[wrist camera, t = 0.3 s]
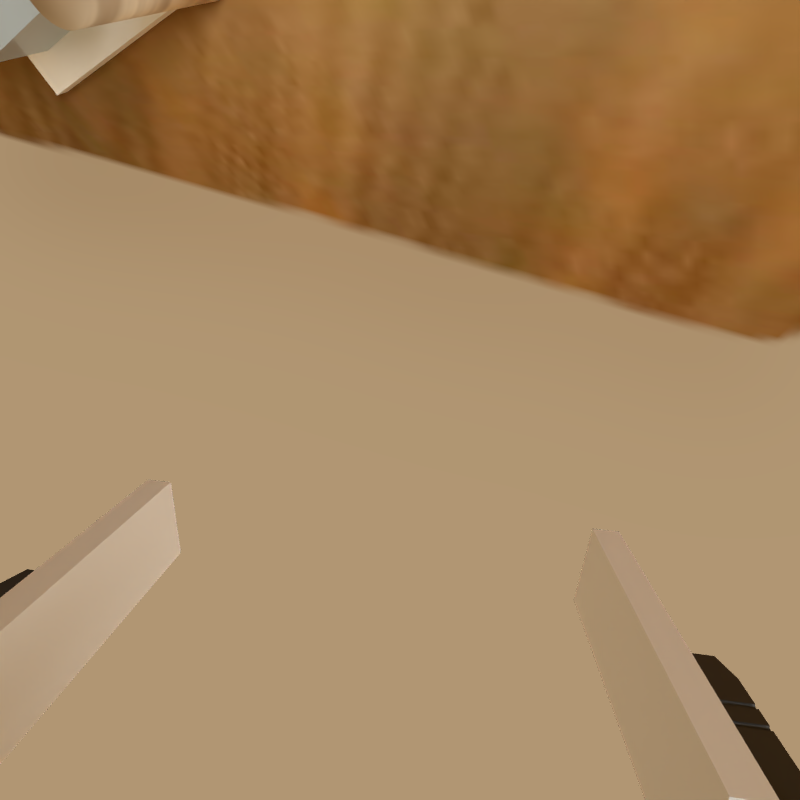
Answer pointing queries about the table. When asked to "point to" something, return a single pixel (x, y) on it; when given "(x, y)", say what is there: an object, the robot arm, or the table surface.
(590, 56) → the table surface
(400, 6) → the table surface
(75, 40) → the socket block
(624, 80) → the table surface
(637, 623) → the robot arm
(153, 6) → the birch peg
